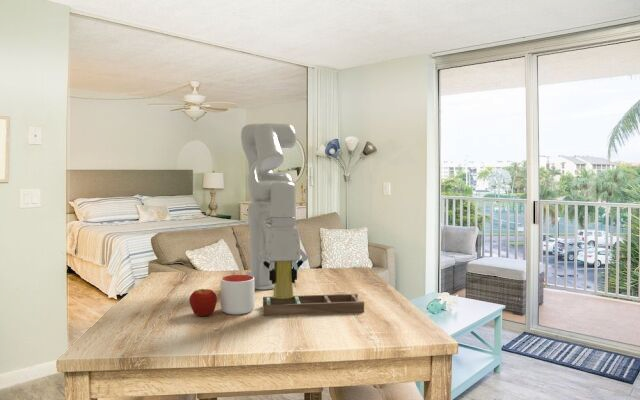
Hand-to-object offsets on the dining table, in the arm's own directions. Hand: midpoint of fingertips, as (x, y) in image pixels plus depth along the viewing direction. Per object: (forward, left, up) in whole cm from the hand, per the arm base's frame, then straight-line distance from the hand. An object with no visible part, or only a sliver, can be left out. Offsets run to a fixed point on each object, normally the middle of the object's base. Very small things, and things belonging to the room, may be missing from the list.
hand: (283, 281), depth 141 cm
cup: (-11, -8, -9) cm, 16 cm away
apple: (-16, -17, -9) cm, 25 cm away
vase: (0, 0, -5) cm, 5 cm away
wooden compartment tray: (+6, +7, -9) cm, 13 cm away
